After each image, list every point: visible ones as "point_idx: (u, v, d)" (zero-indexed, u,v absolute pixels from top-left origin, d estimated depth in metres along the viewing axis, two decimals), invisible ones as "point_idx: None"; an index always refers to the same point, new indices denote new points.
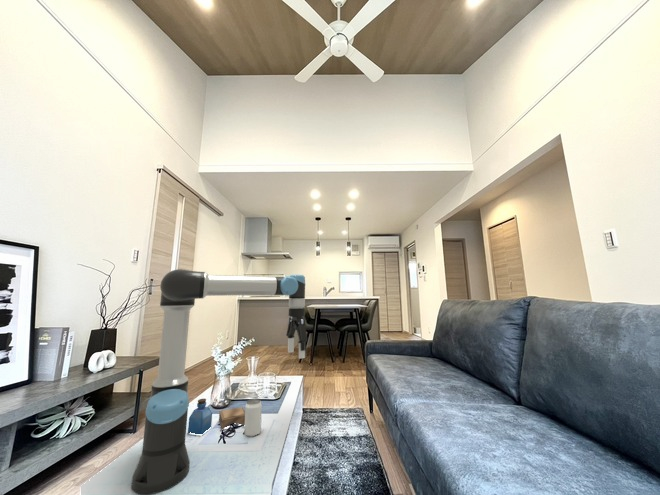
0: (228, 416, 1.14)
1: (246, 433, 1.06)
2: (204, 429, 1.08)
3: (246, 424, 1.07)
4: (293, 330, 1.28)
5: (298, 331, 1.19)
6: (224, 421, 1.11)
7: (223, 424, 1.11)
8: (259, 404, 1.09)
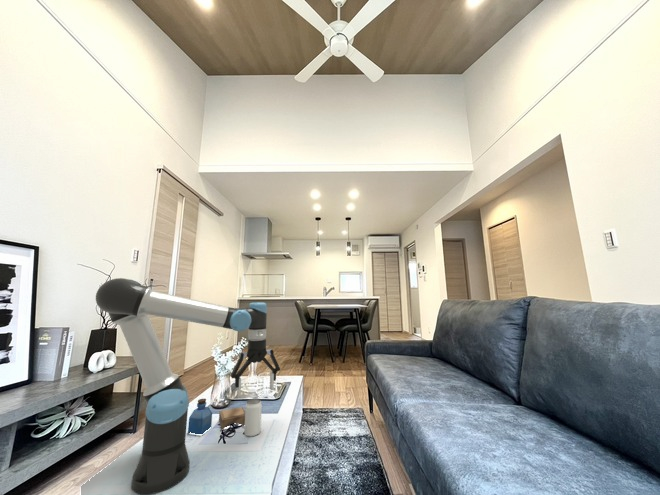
0: (228, 416, 1.14)
1: (246, 433, 1.06)
2: (204, 429, 1.08)
3: (246, 424, 1.07)
4: (266, 364, 1.15)
5: (243, 365, 1.12)
6: (224, 421, 1.11)
7: (223, 424, 1.11)
8: (259, 404, 1.09)
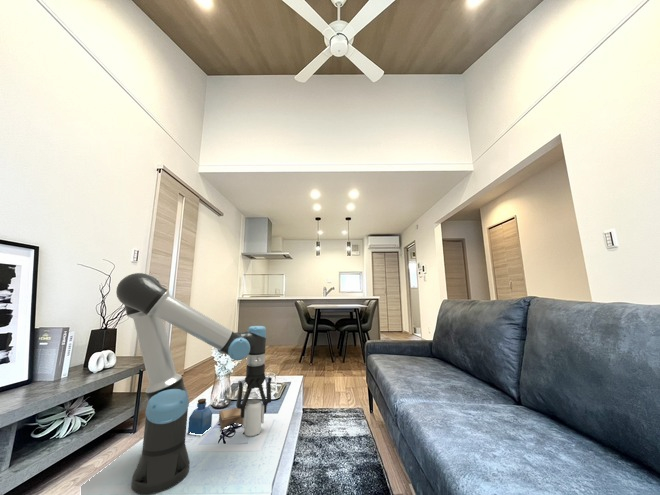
0: (228, 416, 1.14)
1: (246, 433, 1.06)
2: (204, 429, 1.08)
3: (246, 424, 1.07)
4: (260, 392, 1.12)
5: (245, 393, 1.10)
6: (224, 421, 1.11)
7: (223, 424, 1.11)
8: (259, 404, 1.10)
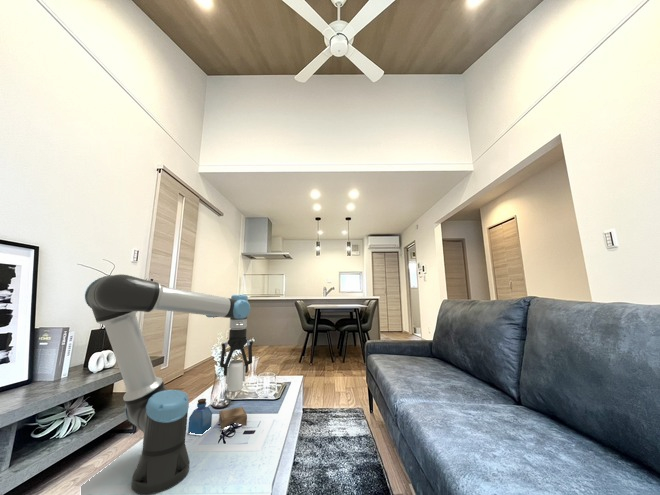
0: (228, 416, 1.14)
1: (228, 389, 1.17)
2: (204, 429, 1.08)
3: (229, 381, 1.18)
4: (242, 354, 1.23)
5: (228, 354, 1.21)
6: (224, 421, 1.11)
7: (223, 424, 1.11)
8: (241, 364, 1.20)
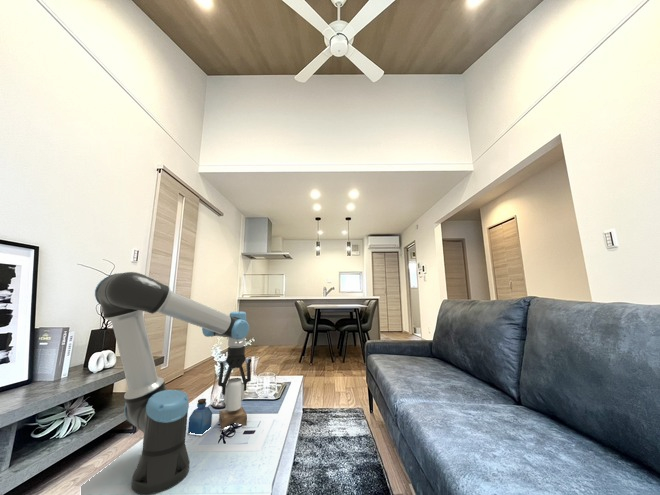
0: (228, 416, 1.14)
1: (227, 408, 1.16)
2: (204, 429, 1.08)
3: (227, 400, 1.16)
4: (240, 372, 1.21)
5: (226, 373, 1.20)
6: (224, 421, 1.11)
7: (223, 424, 1.11)
8: (239, 382, 1.19)
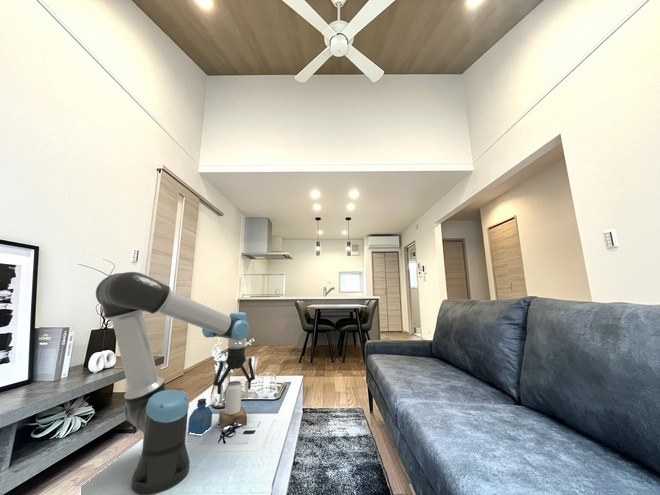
0: (228, 416, 1.14)
1: (226, 412, 1.15)
2: (204, 429, 1.08)
3: (226, 404, 1.16)
4: (243, 372, 1.22)
5: (224, 372, 1.19)
6: (224, 421, 1.11)
7: (223, 424, 1.11)
8: (239, 386, 1.19)
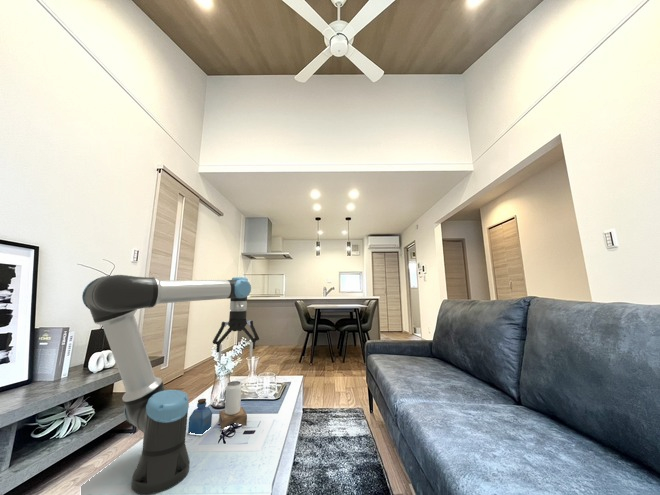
0: (228, 416, 1.14)
1: (226, 412, 1.15)
2: (204, 429, 1.08)
3: (226, 404, 1.16)
4: (246, 333, 1.25)
5: None
6: (224, 421, 1.11)
7: (223, 424, 1.11)
8: (239, 386, 1.19)
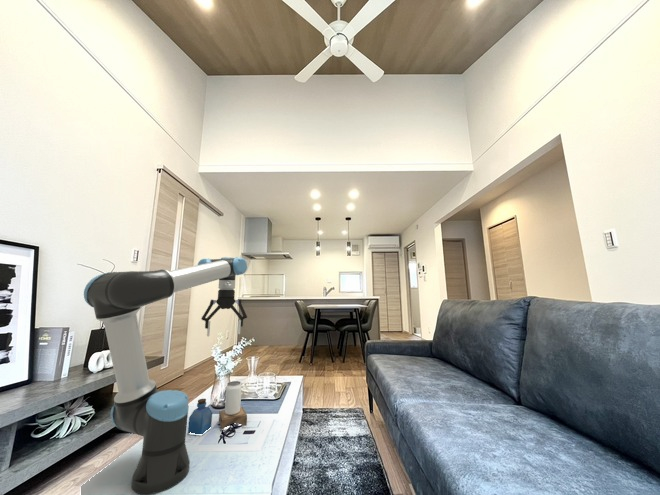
0: (228, 416, 1.14)
1: (226, 412, 1.15)
2: (204, 429, 1.08)
3: (226, 404, 1.16)
4: (234, 311, 1.30)
5: None
6: (224, 421, 1.11)
7: (223, 424, 1.11)
8: (239, 386, 1.19)
